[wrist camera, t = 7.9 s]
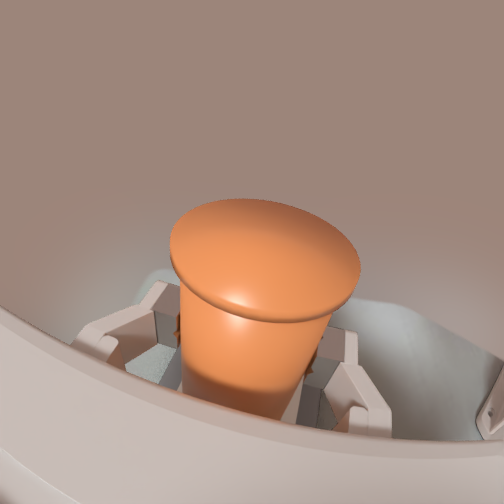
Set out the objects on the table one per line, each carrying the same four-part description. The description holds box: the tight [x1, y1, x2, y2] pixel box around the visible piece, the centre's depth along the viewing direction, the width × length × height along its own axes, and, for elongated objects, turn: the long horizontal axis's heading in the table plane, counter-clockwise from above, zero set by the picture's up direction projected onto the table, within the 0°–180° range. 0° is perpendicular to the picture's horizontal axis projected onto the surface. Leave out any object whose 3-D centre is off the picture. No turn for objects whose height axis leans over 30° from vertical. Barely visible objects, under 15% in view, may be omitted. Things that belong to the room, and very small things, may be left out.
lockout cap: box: [170, 199, 361, 421], centre depth 11 cm, size 5×5×9 cm
